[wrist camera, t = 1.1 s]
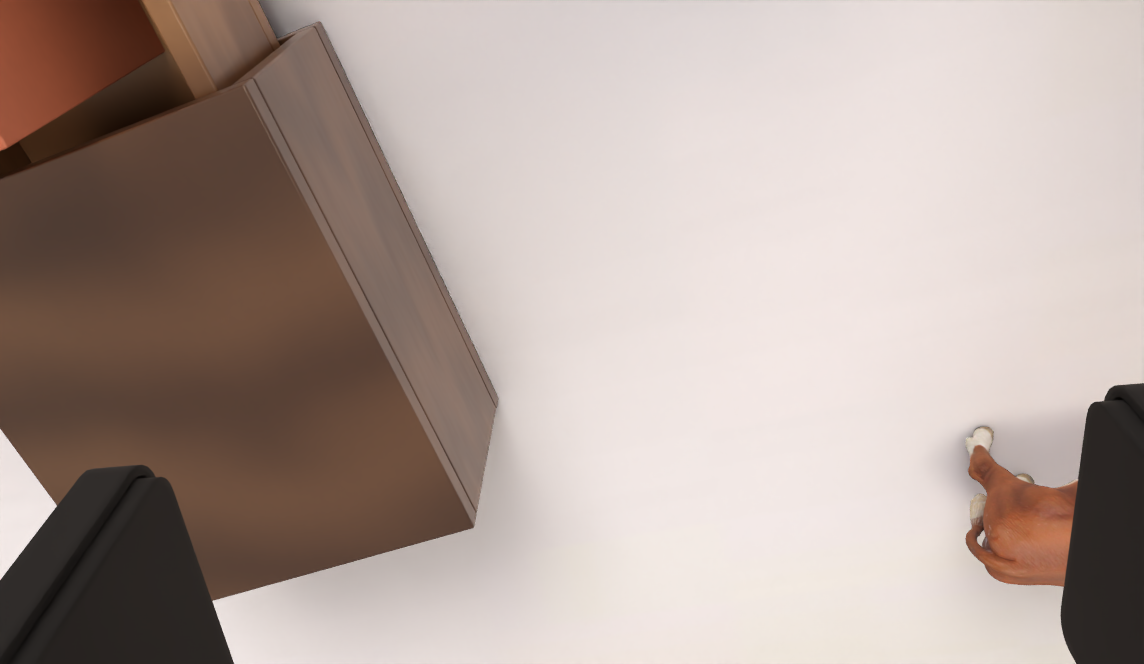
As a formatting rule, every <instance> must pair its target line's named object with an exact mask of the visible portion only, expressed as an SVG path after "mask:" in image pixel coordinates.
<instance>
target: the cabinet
mask: <svg viewBox="0 0 1144 664" xmlns="http://www.w3.org/2000/svg"><path fill="white" fill-rule="evenodd" d="M277 40H278V42H279V44H280V47H279V48H277V49H276V50H275V51H274V52H272V53H271V54H270V55H269V56H268V57H266V58H265V59H264V60H263V61H261V62H260V63H259V64H258V65H256V66H255V67H254V68H253V69H251V70H250V71H249V72H248V73H246V74H245V75H244V76H243V77H241V78H240V79H239V80H238V81H236V82H235V83H234V84H233V85H232V86H229V87H227V88H224V89H222V90H219V91H217V92H214V93H211V94H209V95H206V96H204V97H201V98H198V99H196V100H193V101H191V102H188V103H186V104H183V105H180V106H178V107H175V108H173V109H170V110H168V111H165V112H162V113H160V114H157V115H155V116H152V117H149V118H147V119H144V120H142V121H139V122H137V123H134V124H131V125H129V126H126V127H124V128H121V129H119V130H116V131H113V132H111V133H108V134H106V135H103V136H100V137H98V138H95V139H93V140H90V141H88V142H85V143H82V144H80V145H77V146H75V147H72V148H70V149H67V150H64V151H62V152H59V153H57V154H54V155H51V156H49V157H46V158H44V159H41V160H39V161H36V162H33V163H31V164H28V165H26V166H23V167H21V168H18V169H15V170H13V171H10V172H8V173H5V174H2V175H0V429H1V430H2V431H3V433H4V434H5V436H6V437H7V438H8V440H9V441H10V442H11V444H12V445H13V446H14V448H15V449H16V450H17V452H18V453H19V455H20V456H21V457H22V459H23V460H24V461H25V463H26V464H27V465H28V467H29V468H30V469H31V471H32V472H33V473H34V475H35V476H36V478H37V479H38V480H39V482H40V483H41V484H42V486H43V487H44V488H45V490H46V491H47V492H48V494H49V495H50V497H51V498H52V499H53V501H54V502H55V503H56V505H57V506H58V504H59V503H60V502H61V500H62V499H63V498H64V497H65V495H66V494H67V493H68V491H69V490H70V489H71V487H72V486H73V485H74V483H75V482H76V481H77V480H78V478H79V477H80V476H81V475H82V474H83V473H84V472H85V471H86V470H90V469H94V468H106V467H118V466H131V465H145V466H147V467H149V468H150V469H151V470H152V472H153V473H154V475H155V477H164V478H166V479H167V480H168V481H169V482H170V484H171V486H172V488H173V490H174V493H175V496H176V499H177V502H178V505H179V508H180V510H181V513H182V516H183V519H184V522H185V525H186V528H187V531H188V533H189V536H190V539H191V542H192V545H193V548H194V551H195V553H196V556H197V559H198V562H199V565H200V568H201V571H202V574H203V576H204V579H205V582H206V585H207V588H208V591H209V594H210V596H211V599H212V601H213V600H217V599H220V598H224V597H227V596H231V595H235V594H238V593H242V592H245V591H249V590H253V589H256V588H260V587H263V586H267V585H271V584H274V583H278V582H281V581H285V580H288V579H292V578H296V577H299V576H303V575H306V574H310V573H314V572H317V571H321V570H324V569H328V568H332V567H335V566H339V565H342V564H346V563H349V562H353V561H357V560H360V559H364V558H367V557H371V556H375V555H378V554H382V553H385V552H389V551H393V550H396V549H400V548H403V547H407V546H410V545H414V544H418V543H421V542H425V541H428V540H432V539H436V538H439V537H443V536H446V535H450V534H454V533H457V532H461V531H464V530H468V529H471V528H474V525H475V519H476V512H477V508H478V502H479V497H480V492H481V487H482V481H483V476H484V471H485V465H486V460H487V455H488V449H489V444H490V439H491V433H492V428H493V423H494V417H495V412H496V408H497V404H498V397H497V395H496V393H495V390H494V388H493V386H492V384H491V382H490V380H489V378H488V376H487V373H486V371H485V369H484V367H483V365H482V363H481V361H480V359H479V356H478V354H477V352H476V350H475V348H474V346H473V344H472V342H471V340H470V337H469V335H468V333H467V331H466V329H465V327H464V325H463V323H462V320H461V318H460V316H459V314H458V312H457V310H456V308H455V306H454V303H453V301H452V299H451V297H450V295H449V293H448V291H447V289H446V286H445V284H444V282H443V280H442V278H441V276H440V274H439V272H438V270H437V267H436V265H435V263H434V261H433V259H432V257H431V255H430V253H429V250H428V248H427V246H426V244H425V242H424V240H423V238H422V236H421V233H420V231H419V229H418V227H417V225H416V223H415V221H414V219H413V216H412V214H411V212H410V210H409V208H408V206H407V204H406V202H405V200H404V197H403V195H402V193H401V191H400V189H399V187H398V185H397V183H396V180H395V178H394V176H393V174H392V172H391V170H390V168H389V166H388V163H387V161H386V159H385V157H384V155H383V153H382V151H381V149H380V146H379V144H378V142H377V140H376V138H375V136H374V134H373V132H372V130H371V127H370V125H369V123H368V121H367V119H366V117H365V115H364V113H363V110H362V108H361V106H360V104H359V102H358V100H357V98H356V96H355V93H354V91H353V89H352V87H351V85H350V83H349V81H348V79H347V76H346V74H345V72H344V70H343V68H342V66H341V64H340V62H339V60H338V57H337V55H336V53H335V51H334V49H333V47H332V45H331V43H330V40H329V38H328V36H327V34H326V32H325V30H324V28H323V26H322V23H321V22H317V23H315V24H312V25H309V26H307V27H304V28H302V29H299V30H297V31H294V32H292V33H289V34H287V35H284V36H282V37H279V38H277Z"/></svg>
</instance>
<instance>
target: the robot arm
mask: <svg viewBox="0 0 1144 664" xmlns="http://www.w3.org/2000/svg"><path fill="white" fill-rule="evenodd" d="M1061 625H1062V630H1063V635H1064V638H1065V641H1066V644H1067V646H1068V649H1069V651H1070V653H1071V655H1072V656H1073V658H1074V660H1075V662H1076V664H1144V383H1142V384H1129V385H1117V386H1114V387H1112V388H1110V389H1109V391H1108V393H1107V394H1106V396H1105V400H1104V401H1102V402H1094V403H1093V404H1091V405H1090V407H1089V409H1088V413H1087V417H1086V424H1085V431H1084V439H1083V447H1082V454H1081V462H1080V469H1079V477H1078V484H1077V492H1076V499H1075V507H1074V514H1073V522H1072V530H1071V537H1070V545H1069V552H1068V560H1067V567H1066V575H1065V582H1064V590H1063V597H1062V605H1061ZM0 664H234V662H233V660H232V657H231V654H230V651H229V648H228V645H227V642H226V639H225V637H224V634H223V631H222V628H221V625H220V622H219V619H218V617H217V614H216V611H215V608H214V605H213V602H212V599H211V596H210V594H209V591H208V588H207V585H206V582H205V579H204V576H203V574H202V571H201V568H200V565H199V562H198V559H197V556H196V553H195V551H194V548H193V545H192V542H191V539H190V536H189V533H188V531H187V528H186V525H185V522H184V519H183V516H182V513H181V510H180V508H179V505H178V502H177V499H176V496H175V493H174V490H173V488H172V486H171V484H170V482H169V481H168V480H167V479H166V478H164V477H155V475H154V473H153V472H152V470H151V469H150V468H149V467H147V466H145V465H131V466H118V467H106V468H94V469H90V470H86V471H85V472H84V473H83V474H82V475H81V476H80V477H79V478H78V480H77V481H76V482H75V483H74V485H73V486H72V487H71V489H70V490H69V491H68V493H67V494H66V495H65V497H64V498H63V499H62V500H61V502H60V503H59V504H58V506H57V507H56V508H55V510H54V511H53V512H52V513H51V515H50V516H49V517H48V519H47V520H46V521H45V523H44V524H43V525H42V527H41V528H40V529H39V530H38V532H37V533H36V534H35V536H34V537H33V538H32V540H31V541H30V542H29V543H28V545H27V546H26V547H25V549H24V550H23V551H22V553H21V554H20V555H19V557H18V558H17V559H16V560H15V562H14V563H13V564H12V566H11V567H10V568H9V570H8V571H7V572H6V573H5V575H4V576H3V577H2V579H1V580H0Z"/></svg>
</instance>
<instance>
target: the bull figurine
mask: <svg viewBox="0 0 1144 664" xmlns="http://www.w3.org/2000/svg"><path fill="white" fill-rule="evenodd" d="M993 433H994V432H993V430H992V429H991V428H989V427H979V428H977V429H975V431H974V434H973V438H971V437H968V438H966V442H965V445H966V449H967V450H968V452H969V455H970V466H969V469H968V473H969V475H970V476H971V477H972V478H973V479H974V480H977V481H978V482H979V483H980V484H981V485H982V486H983V487H984V488H985V490H986V492H987V496H985V495H984V494H977V495H976V496H975V497H974V498H973V499H972V500H971V505H970V520H971V524H972V529H971V530H970V531H969V532H968V533H967V534H966V544H967V546H968V548H969V550H970V551H971V552H972V554H973V555H974V556H975V557H976V558H977V559H978V560H980V561H981V562H982V563H983V564H984V565H985V567H986V570H987V571H988V573H989V574H990V575H991V576H992V577H994V578H995V579H997V580H999V581H1001V582H1004V583H1008V584H1018V585H1055V586H1063V587H1064V582H1065V575H1066V567H1067V560H1068V552H1069V545H1070V537H1071V530H1072V522H1073V514H1074V507H1075V499H1076V492H1077V484H1078V479H1077V480H1074V481H1071V482H1070V483H1068V484H1066V485H1064V486H1061V487H1058V488H1049V487H1044V486H1039V485H1035V484H1034V480H1033V479H1032V478H1031V477H1030V476H1029V475H1027V474H1020V475H1017V476H1016V477H1015V476H1014V475H1013V474H1011V473H1010V472H1009V471H1008V470H1006V469H1005V468H1003V467H1001V466H1000V465H998V464H997V463H996V462H995V461H994V459H993V458H992V457H991V456H990V453H989V450H990V447H991V445H992V441H993ZM983 530H984V531H985V535H986V537H985V539H984V541H983V543H982V547H981V546H980V545H979V544H978V543H977V537H978V536H980V534H981V532H982V531H983Z"/></svg>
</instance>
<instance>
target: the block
mask: <svg viewBox="0 0 1144 664" xmlns="http://www.w3.org/2000/svg"><path fill="white" fill-rule="evenodd" d="M164 52H165V49H164V48H163V46H162V44H161V42H160V40H159V38H158V37H157V35H156V33H155V31H154V29H153V27H152V25H151V24H150V22H149V20H148V18H147V16H146V14H145V13H144V11H143V9H142V7H141V5H140V3H139V2H138V0H0V151H1V150H4V149H6V148H8V147H10V146H12V145H13V144H15V143H17V142H18V141H20V140H22V139H23V138H25V137H26V136H28V135H30V134H31V133H33V132H35V131H36V130H38V129H40V128H41V127H43V126H44V125H46V124H48V123H49V122H51V121H53V120H54V119H56V118H58V117H59V116H61V115H62V114H64V113H66V112H67V111H69V110H71V109H72V108H74V107H76V106H77V105H79V104H80V103H82V102H84V101H85V100H87V99H89V98H90V97H92V96H94V95H95V94H97V93H98V92H100V91H102V90H103V89H105V88H107V87H108V86H110V85H112V84H113V83H115V82H117V81H118V80H120V79H121V78H123V77H125V76H126V75H128V74H130V73H131V72H133V71H135V70H136V69H138V68H139V67H141V66H143V65H144V64H146V63H148V62H149V61H151V60H153V59H154V58H156V57H157V56H159V55H161V54H162V53H164Z"/></svg>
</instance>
